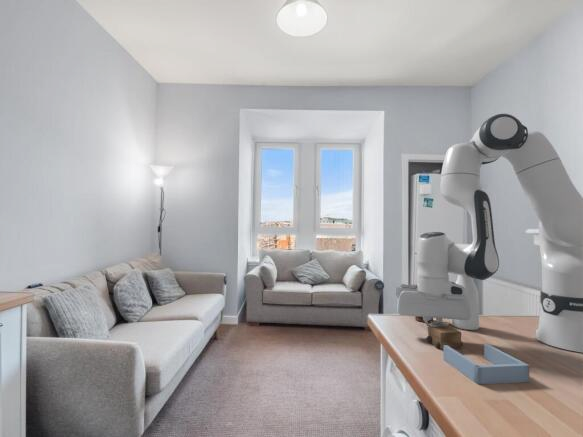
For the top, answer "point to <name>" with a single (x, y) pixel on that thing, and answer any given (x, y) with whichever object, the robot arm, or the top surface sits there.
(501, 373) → the bay
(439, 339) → the wooden toy wagon
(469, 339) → the top surface
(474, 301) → the milk bottle
